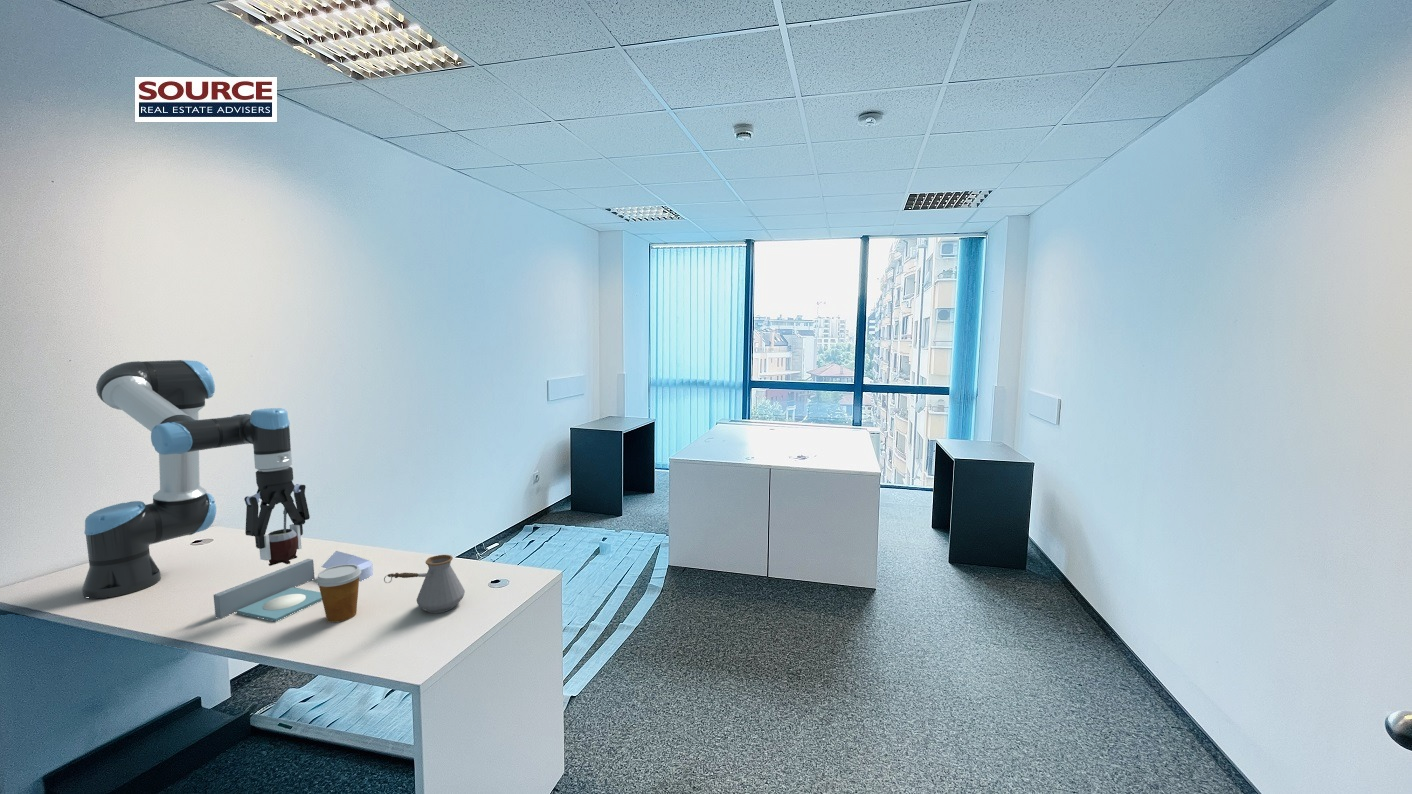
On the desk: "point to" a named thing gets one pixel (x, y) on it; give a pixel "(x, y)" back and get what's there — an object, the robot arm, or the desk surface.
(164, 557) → the desk surface
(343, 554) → the wedge on round base
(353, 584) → the disposable coffee cup
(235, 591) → the low wall
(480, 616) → the desk surface
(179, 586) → the desk surface
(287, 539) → the mate gourd
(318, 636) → the desk surface
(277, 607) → the mat
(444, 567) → the coffee pot
